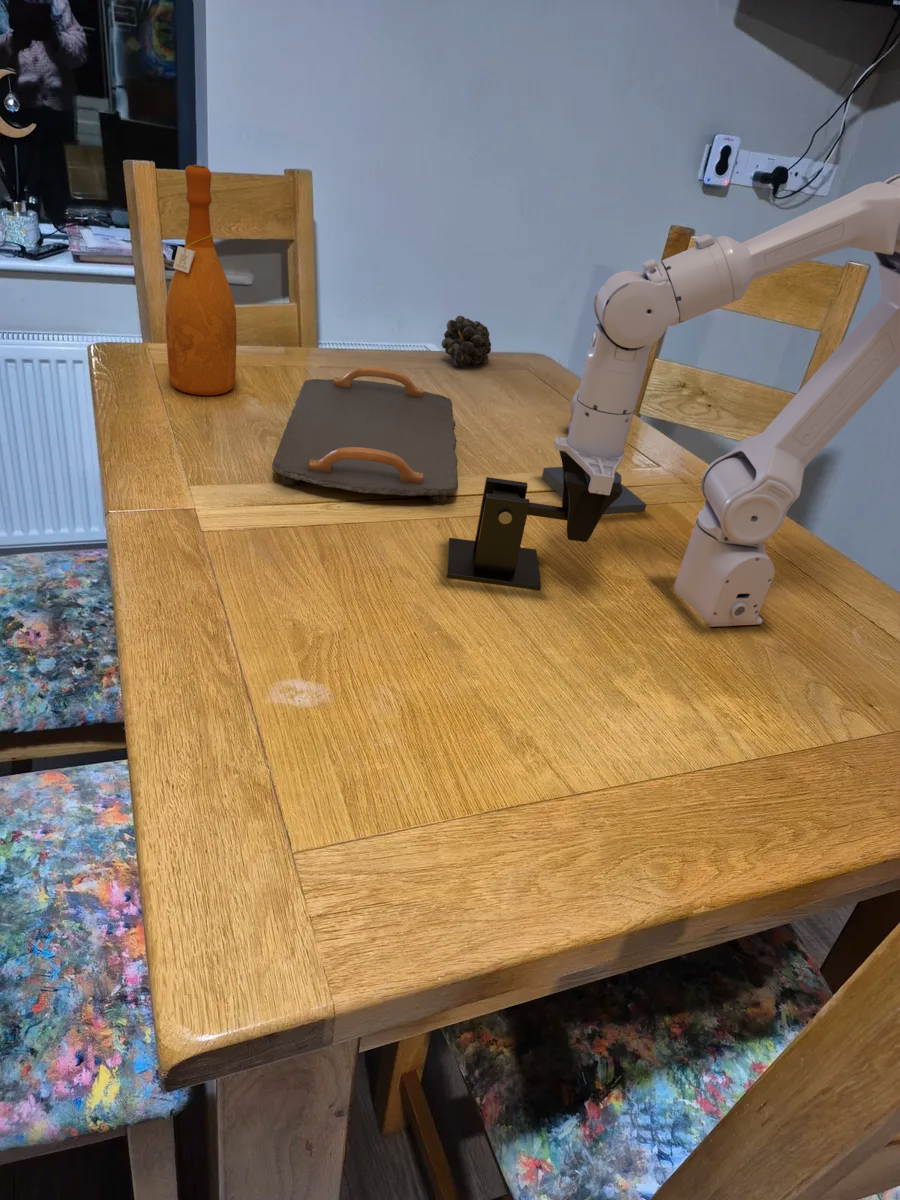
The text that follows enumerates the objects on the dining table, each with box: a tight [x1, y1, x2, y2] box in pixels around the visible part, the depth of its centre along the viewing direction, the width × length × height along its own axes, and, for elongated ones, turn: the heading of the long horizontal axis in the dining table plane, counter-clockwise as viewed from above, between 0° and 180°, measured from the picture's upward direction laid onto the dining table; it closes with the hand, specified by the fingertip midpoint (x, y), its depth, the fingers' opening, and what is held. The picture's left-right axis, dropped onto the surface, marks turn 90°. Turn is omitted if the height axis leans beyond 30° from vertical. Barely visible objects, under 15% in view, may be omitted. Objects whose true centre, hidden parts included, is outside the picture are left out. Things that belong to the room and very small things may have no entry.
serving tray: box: [271, 366, 459, 505], centre depth 113 cm, size 39×23×6 cm, turn 1°
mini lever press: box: [446, 476, 542, 591], centre depth 88 cm, size 10×8×10 cm
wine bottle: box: [165, 164, 237, 396], centre depth 117 cm, size 10×10×30 cm
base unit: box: [541, 466, 647, 515], centre depth 110 cm, size 12×9×4 cm
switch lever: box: [492, 489, 568, 521], centre depth 87 cm, size 10×5×2 cm, turn 88°
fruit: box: [441, 315, 492, 368], centre depth 153 cm, size 9×8×15 cm
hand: (574, 526), depth 88 cm, fingers closed on switch lever, 5 cm apart
